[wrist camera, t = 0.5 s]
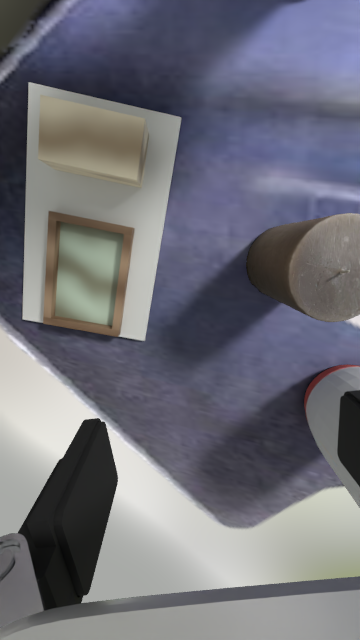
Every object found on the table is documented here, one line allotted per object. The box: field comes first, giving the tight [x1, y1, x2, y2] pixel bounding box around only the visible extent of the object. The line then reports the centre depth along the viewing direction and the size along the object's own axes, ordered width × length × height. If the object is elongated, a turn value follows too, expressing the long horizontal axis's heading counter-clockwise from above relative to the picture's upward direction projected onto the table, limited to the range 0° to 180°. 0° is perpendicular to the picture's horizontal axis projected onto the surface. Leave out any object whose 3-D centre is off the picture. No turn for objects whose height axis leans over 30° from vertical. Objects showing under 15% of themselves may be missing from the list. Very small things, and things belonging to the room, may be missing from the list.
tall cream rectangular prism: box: [38, 95, 149, 188], centre depth 29 cm, size 6×11×4 cm, turn 79°
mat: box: [23, 82, 181, 341], centre depth 34 cm, size 29×18×1 cm, turn 169°
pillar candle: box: [246, 213, 360, 322], centre depth 28 cm, size 10×10×15 cm
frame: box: [43, 211, 135, 337], centre depth 35 cm, size 15×11×2 cm
